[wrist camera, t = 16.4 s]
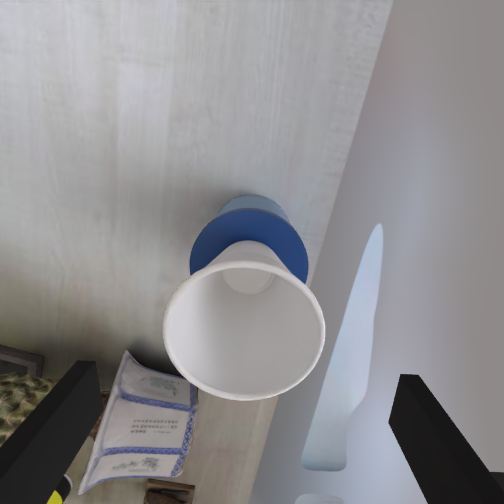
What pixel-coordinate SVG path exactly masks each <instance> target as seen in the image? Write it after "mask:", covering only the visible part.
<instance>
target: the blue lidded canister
mask: <svg viewBox="0 0 504 504" xmlns="http://www.w3.org/2000/svg"><path fill="white" fill-rule="evenodd" d="M246 240H251V241H257V242H260V243H263V244H264V245H266V246H268V247H269V248H270V249H272V250H273V252H274V253H275V254H276V255H277V257H278V258H279V259H280V260H281V261H282V263H283V264H284V265H285V266H286V268H287V269H288V270H289V271H290V272H291V274H293V275H294V276H295V277H297V278H298V279H299V280H300V281H301V282H303V283H304V284H305V283H306V280H307V275H308V257H307V253H306V249H305V247H304V244H303V242H302V240H301V238H300V237H299V235H298V233H297V232H296V231H295V229H294V228H293V227H292V226H291V225H290V223H289V221H288V219H287V217H286V215H285V213H284V212H283V210H282V209H281V208H280V207H279V206H278V205H277V204H276V203H275V202H273V201H272V200H270V199H268V198H265V197H263V196H259V195H244V196H240V197H237V198H235V199H233V200H231V201H230V202H228V203H227V204H226V205H225V206H224V207H223V208H222V209H221V210H220V212H219V213H218V215H217V216H216V217H215V219H213V220H212V221H211V222H210V223H209V224H208V225H207V226H206V227H205V228H204V229H203V230H202V232H201V233H200V235H199V236H198V238H197V239H196V241H195V243H194V245H193V248H192V251H191V256H190V275H193V274H194V273H195V272H197V271H199V270H201V269H203V268H205V267H206V266H207V265H208V264H210V263H211V262H212V261H213V260H214V259H215V258H216V257H217V256H218V255H220V254H221V253H222V252H223V251H224V250H225V249H226V248H228V247H229V246H230V245H232V244H234V243H236V242H240V241H246Z"/></svg>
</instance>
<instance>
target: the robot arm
mask: <svg viewBox="0 0 504 504" xmlns="http://www.w3.org/2000/svg"><path fill="white" fill-rule="evenodd" d="M103 411H104V407H103V402H102V396H101V391H100V385H99V380H98V374H97V369H96V363H95V361H80V360H77V362H76V363H75V364H74V365H73V366H72V367H71V368H70V369H69V371H68V372H67V373H66V374H65V375H64V376H63V377H62V378H61V380H60V381H59V382H58V383H57V384H56V385H55V386H54V387H53V388H52V390H51V391H50V392H49V393H48V394H47V395H46V396H45V397H44V399H43V400H42V401H41V402H40V403H39V404H38V405H37V406H36V408H35V409H34V410H33V411H32V412H31V413H30V414H29V415H28V417H27V418H26V419H25V420H24V421H23V422H22V423H21V424H20V425H19V427H18V428H17V429H16V430H15V431H14V432H13V433H12V434H11V436H10V437H9V438H8V439H7V440H6V441H5V442H4V443H3V445H2V446H1V447H0V504H47V502H48V500H49V499H50V497H51V496H52V494H53V492H54V491H55V489H56V487H57V486H58V484H59V482H60V481H61V479H62V478H63V476H64V474H65V473H66V471H67V469H68V468H69V466H70V465H71V463H72V461H73V460H74V458H75V456H76V455H77V453H78V451H79V450H80V448H81V447H82V445H83V443H84V442H85V440H86V438H87V437H88V435H89V434H90V432H91V430H92V429H93V427H94V425H95V424H96V422H97V420H98V419H99V417H100V416H101V414H102V412H103ZM389 425H390V427H391V429H392V431H393V433H394V435H395V437H396V439H397V441H398V443H399V445H400V447H401V449H402V452H403V454H404V456H405V458H406V460H407V462H408V464H409V466H410V468H411V470H412V472H413V474H414V476H415V478H416V480H417V482H418V484H419V487H420V489H421V490H422V493H423V494H424V497H425V499H426V501H427V503H428V504H504V473H503V472H489V470H488V469H487V468H486V466H485V465H484V464H483V462H482V461H481V460H480V458H479V457H478V455H477V454H476V453H475V451H474V450H473V449H472V447H471V446H470V444H469V443H468V442H467V441H466V439H465V438H464V436H463V435H462V433H461V432H460V431H459V429H458V428H457V427H456V425H455V424H454V423H453V421H452V420H451V419H450V417H449V416H448V414H447V413H446V412H445V410H444V409H443V408H442V406H441V405H440V403H439V402H438V401H437V399H436V398H435V397H434V395H433V394H432V392H431V391H430V390H429V388H428V387H427V386H426V384H425V383H424V382H423V380H422V379H421V377H420V376H419V375H412V374H400V378H399V382H398V386H397V390H396V394H395V398H394V402H393V406H392V411H391V414H390V418H389Z"/></svg>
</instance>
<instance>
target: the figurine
mask: <svg viewBox="0 0 504 504" xmlns="http://www.w3.org/2000/svg"><path fill="white" fill-rule="evenodd" d="M194 488H195V486H191V485H184V484H178V483H172V482H165V481H159V480H153V479H148V482H147V487H146V493H145V497H144V504H184V503H185V504H192V500H193V494H194Z"/></svg>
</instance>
